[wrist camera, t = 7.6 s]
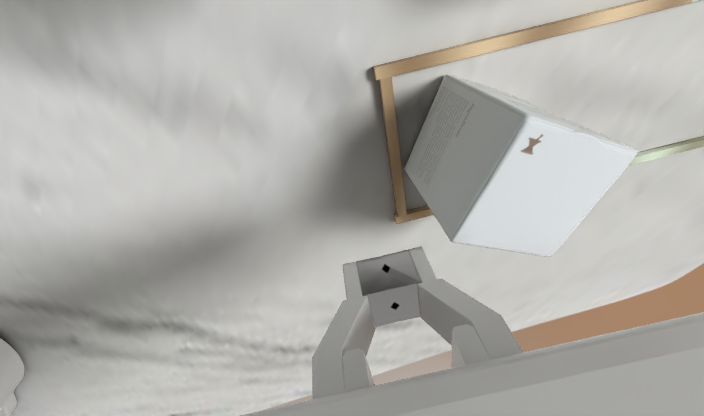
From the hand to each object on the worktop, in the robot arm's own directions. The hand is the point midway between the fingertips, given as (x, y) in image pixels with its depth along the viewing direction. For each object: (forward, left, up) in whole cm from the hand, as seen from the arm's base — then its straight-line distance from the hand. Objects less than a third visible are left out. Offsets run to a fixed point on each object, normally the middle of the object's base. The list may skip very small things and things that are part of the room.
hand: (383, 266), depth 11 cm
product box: (+7, 0, -9) cm, 12 cm away
